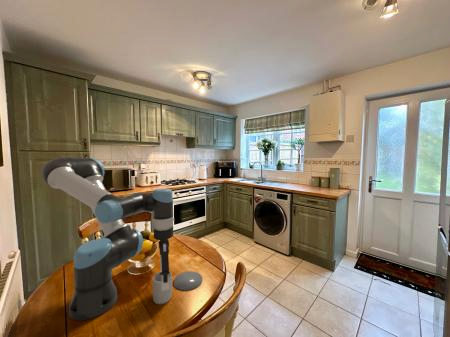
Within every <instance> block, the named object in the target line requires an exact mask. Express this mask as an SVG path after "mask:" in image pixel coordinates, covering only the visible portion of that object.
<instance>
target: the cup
mask: <svg viewBox="0 0 450 337" xmlns="http://www.w3.org/2000/svg"><path fill="white" fill-rule="evenodd" d="M161 272H162V271H159V272H157V273H155V274H154V275H153V276H152V300H153V302H154V303H155V304H157V305H163V304H166V303H168V302H169V301H170V300H171V299H172V296H173V278H172V276H173V275H172V272H170V273H169V289H168V290H164V291H162V281H161V275H160V273H161Z"/></svg>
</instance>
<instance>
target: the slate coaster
mask: <svg viewBox="0 0 450 337" xmlns="http://www.w3.org/2000/svg"><path fill="white" fill-rule="evenodd" d="M202 282H203V276H202V274H201V273H199V272H196V271H193V270H191V271H190V270H189V271H183V272H181V273H179V274H177V275H176V276H175V277H174V278H173V280H172V285H173V286H174V288H175V289H177V290H179V291H192V290H195V289H197V288H198V287H199V286H201V284H202Z"/></svg>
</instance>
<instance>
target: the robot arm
mask: <svg viewBox="0 0 450 337" xmlns="http://www.w3.org/2000/svg"><path fill="white" fill-rule="evenodd" d="M40 172H41V173H40V175H41V178H42V181H43V182H44V183H45V184H46V185H48V186H49V187H51V188H53V189H56V190H62V191H63V192H65V193H66V194H68V195H69V196H71V197H73V198H75V199H76V200H78V201H80V202H81V203H82V204H85V205H87V206H88V207H89V208H90V209H91V211H92V212H93V214H94V217H95V219H96V221H97V222H98V223H97V224H99V226H100V229H101V231H102V233H103V237H100V238H96V239H92V240H89V241H87V242H85V243H82V245H80V246H78V248H77V249H76V250H75V252H74V255H73V263H72V265H73V273H74V274H73V277H74V279H73V280H74V281H73V282H74V291H73V294H72V296H71V300H70V303H69V306H68V317H69V318H70V319H72V320H73V321H88V320H91V319H94V318H96V317H98V316H101V315H102V314H104V313H106V312H107V311H109V310H110V309H111V308H112V307H113V306H114V305H115V304H116V302H117V300H118V291H117V287H116V286H115V284H114V281H113V278H112V277H113V276H112V273H113V269H115V268H116V267H119V266H121V265H122V264H123V263H125V262H127V261H128V260H132V259H133V258H134V257H135V256H136V255H138V254H139V253H140V252H142V249H143V245H144V238H143V235H142V232H141V231H140V230H137V229H136V228H132V227H131V225H130V224H129V223H125V222H124V221H123V220H124V219H125V218H128V217H130V216H131V217H132V216H133V215H137V214H140V213H143V212H147V213H152V221H153V222H152V227H153V239H154V240H156V241H158V249H159V262H160V263H159V266H160V267H159V268H160V269H159V270H160V271H159V272H161V273H160V275H161V281H162V291H164V290H168V289H169V273H171V272H170V260H169V255H170V254H169V253H170V248H169V247H170V240H169V239H172V238H173V237H174V227H173V226H174V222H173V221H175V218H174V215H173V214H174V213H173V210H174V209H173V205H174V198H173V190H172V189H170V188H157V189H156V188H155V189H154V190H153V191H152V193H149V192H148V193H147V192H132V193H131V194H129V195H128V196H122V197H119V196H117V195H115V194H113V193H111V192H110V191H108V190H107V189H106V187H105V186H104V184H103V180H104V177H105V167H104V164H103V163H102V162H101V161H100V160H99V159H97V158H95V157H94V158H93V157H88V156H87V157H66V156H65V157H63V156H62V157H56V158H53V159H50V160H48V161H47V162H46V163H45V164H44V165H43V167H42V168H41V171H40Z"/></svg>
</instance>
